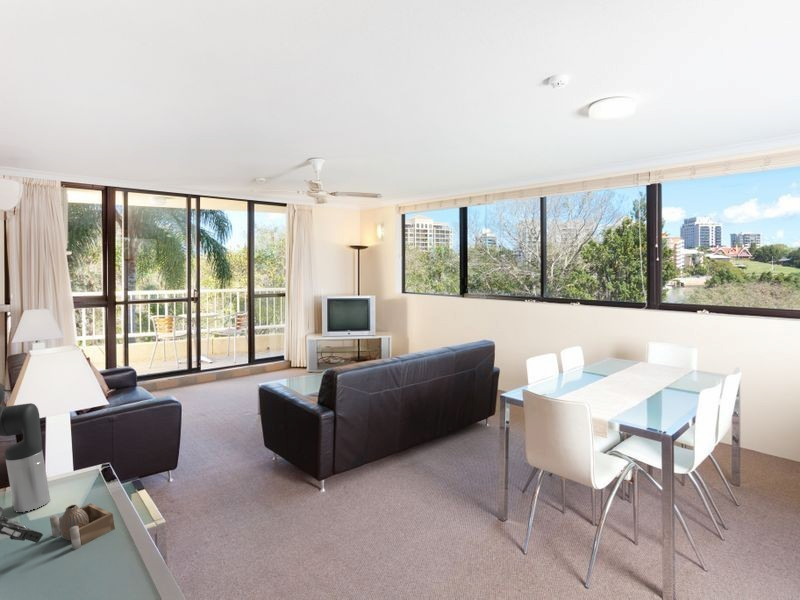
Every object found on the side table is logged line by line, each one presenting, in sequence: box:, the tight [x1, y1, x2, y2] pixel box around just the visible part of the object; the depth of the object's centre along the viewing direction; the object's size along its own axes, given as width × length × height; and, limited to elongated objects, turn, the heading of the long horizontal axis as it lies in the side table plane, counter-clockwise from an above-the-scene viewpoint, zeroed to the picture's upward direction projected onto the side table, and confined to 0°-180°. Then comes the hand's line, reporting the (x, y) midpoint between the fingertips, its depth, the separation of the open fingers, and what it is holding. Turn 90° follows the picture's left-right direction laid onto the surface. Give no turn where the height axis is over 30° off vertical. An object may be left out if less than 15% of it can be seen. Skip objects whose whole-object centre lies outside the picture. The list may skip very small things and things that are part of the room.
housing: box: [49, 503, 116, 550], centre depth 132 cm, size 14×10×6 cm
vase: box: [59, 504, 90, 541], centre depth 130 cm, size 7×7×9 cm
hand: (39, 537), depth 123 cm, fingers closed
